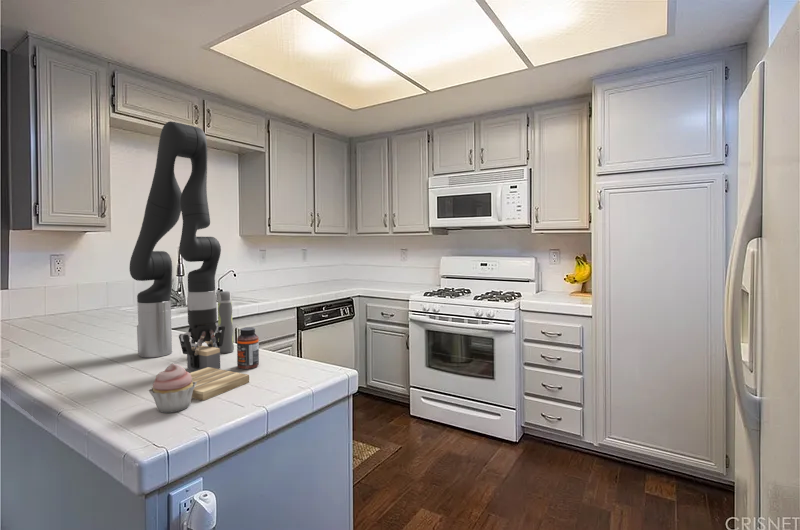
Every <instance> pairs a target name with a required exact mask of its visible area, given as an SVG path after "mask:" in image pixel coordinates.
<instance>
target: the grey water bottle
mask: <svg viewBox="0 0 800 530" xmlns="http://www.w3.org/2000/svg"><path fill="white" fill-rule="evenodd" d="M232 303H233V301H232V293H231V292H230V291H228V290H227V291H224V290H223V291H220V292H218V294H217V326H224V327H225V332H224V338H223V345H222V346H221V347H218V348H220V354H228V353H229V354H230V353H232V352H234V350H235V346H234V325H233V304H232ZM218 342H219V340H218Z"/></svg>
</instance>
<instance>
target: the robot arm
mask: <svg viewBox="0 0 800 530" xmlns="http://www.w3.org/2000/svg"><path fill="white" fill-rule="evenodd" d="M177 157H180V158H186V159H190V162H191V163H190V164H191V172H190V176H189V177H188V180H187V182H186V183H185V186H184V188H183V189H182V190H181V188H180V185H179V184H178V181H177V178H176V175H175V163H176V159H177ZM207 178H208V140H207V136H206V133H205V132H204V130H203V129H202V128H200V127H197V126H193V125H189V124H186V123H182V122H181V123H180V122H177V121H172V120H169V121H167V122H166V123H164V125H163V127H162V129H161V131H160V135H159V140H158V149H157V155H156V163H155V169H154V174H153V178H152V182H151V186H150V190H149V194H148V198H147V201H146V205H145V211H144V214H143V220H142V223H141V227H140V230H139V234H138V238H137V240H136V243H135V245H134V247H133V250H132V254H131V256H130V260H129V274H130V277H131V278H132V279H133V280H135V281H138V282H141V281H142V282H145V281H153V283H152V284H151V286H149V287H148V288H146V289H144V290H142V291H140V292H139V293H137V295H136V296H137V297H136V301H137V323H138V324H137V325H136V335H137V340H136V341H137V355H139V357H141V358H158V357H163V356H167V355H170V354H172V352H173V337H172V336H173V334H172V333H173V332H172V330H173V329H172V308H171V307H172V302H171V295H172V291H173V286H172V285H173V284H172V283H173V280H172V279H173V263H172V258H171V255H170V254H169V253H168V252H167V251H164V250H155V251H154V249H155V247H156V245H157V244H158V242H159V241H161V239H162V238H163V237H164V236H166V235H167V234H168V232H170V231H171V230H172V229H173V228H174V227H175V226H176V224H177V223H178V221H179V220H180V216H181V218H182V229H181V235H180V241H179V246H178V249H179V254H180V257H181V258H182V259H183V260H184V261H185V262H189V263H191V262H192V263H196V262H202V264H201V266H200V268H197V269H194V270H191V271H189V272H188V273H187V298H186V301H187V302H186V304H187V324H188V326H189V328H188V331H187V332H185V333H179V335H178V339H179V343H180V346H181V347H180V348H181V351H182V354H183V355H186V356H187V355H190V365H191V367H192V368H195V369H197V368H199V355H198V352H199V349H200V347H201V346H203V344H204V343H206V346H208V347H215V348H218V347H221V346H222V345H223V338H224V332H225V327H224V326H218V325H217V324H216V323H217V322H218V303H217V294H216V274H217V269H218V264H219V260H220V259H221V251H222V249H221V244H220V241H219V240H218V239H217V238H216V237H214V236H197V235H196V234H197V231H200V230H203V229H206V228H209V226H210V224H211V218H210V209H209V204H208V203H209V201H208V193H207V190H208V189H207V188H208V187H207V183H208V181H207ZM218 340H219V342H218Z"/></svg>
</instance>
